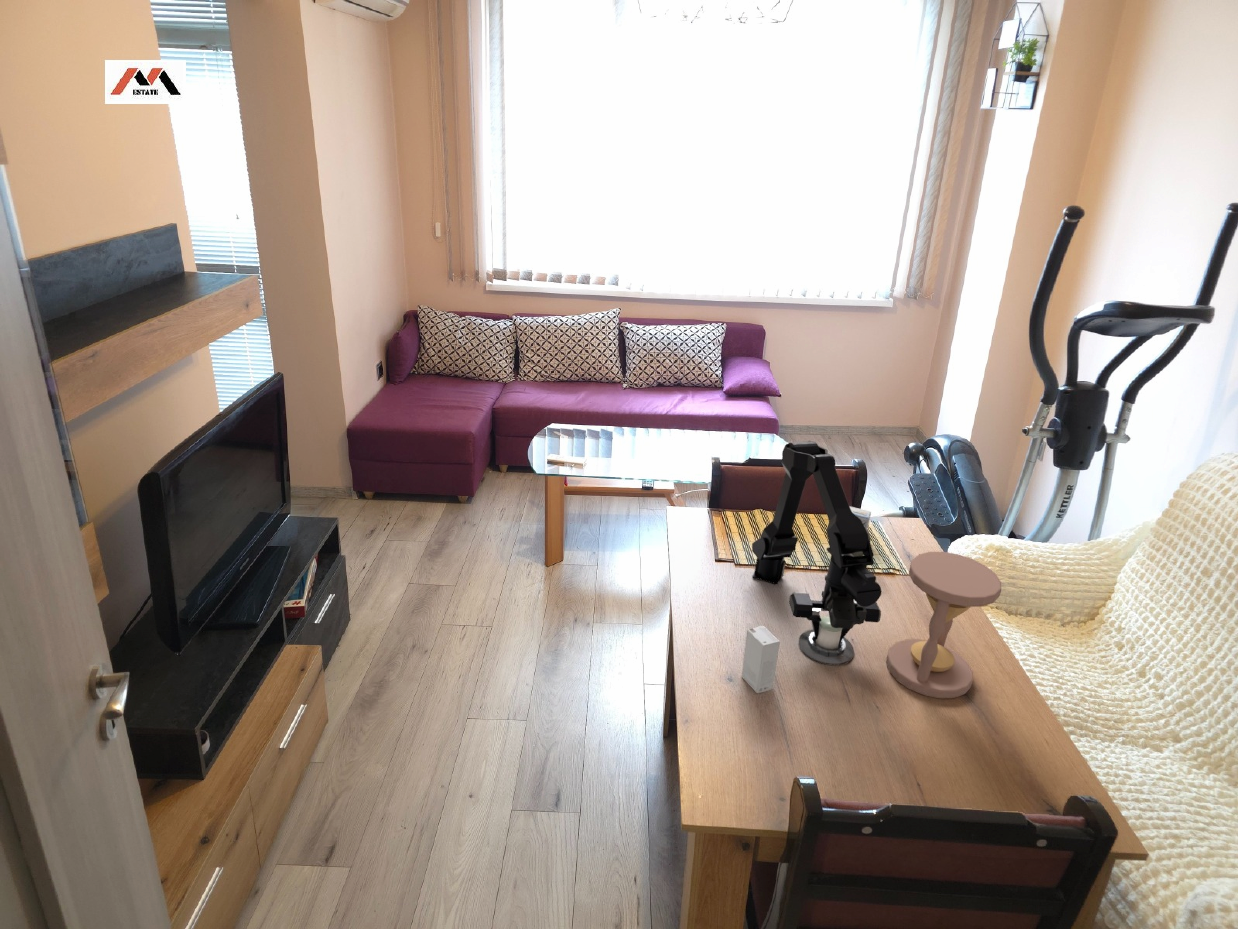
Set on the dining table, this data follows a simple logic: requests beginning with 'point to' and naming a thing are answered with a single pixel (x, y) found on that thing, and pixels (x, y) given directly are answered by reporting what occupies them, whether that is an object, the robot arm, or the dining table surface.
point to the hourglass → (942, 623)
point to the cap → (828, 635)
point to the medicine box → (862, 515)
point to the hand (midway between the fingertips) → (827, 638)
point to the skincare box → (760, 659)
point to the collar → (822, 655)
